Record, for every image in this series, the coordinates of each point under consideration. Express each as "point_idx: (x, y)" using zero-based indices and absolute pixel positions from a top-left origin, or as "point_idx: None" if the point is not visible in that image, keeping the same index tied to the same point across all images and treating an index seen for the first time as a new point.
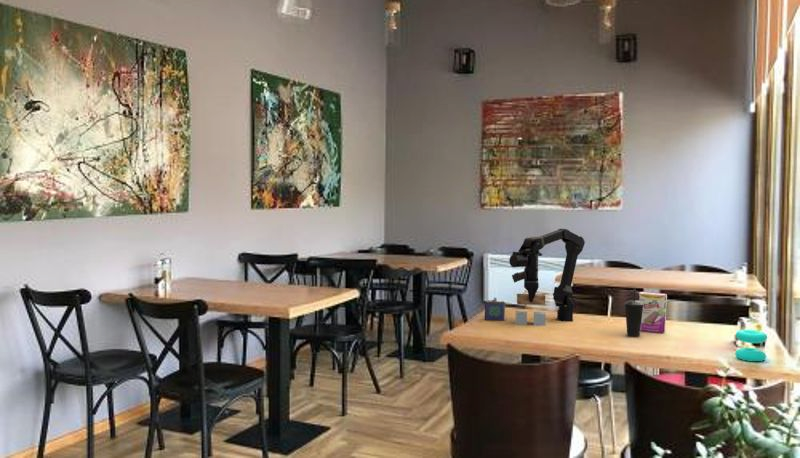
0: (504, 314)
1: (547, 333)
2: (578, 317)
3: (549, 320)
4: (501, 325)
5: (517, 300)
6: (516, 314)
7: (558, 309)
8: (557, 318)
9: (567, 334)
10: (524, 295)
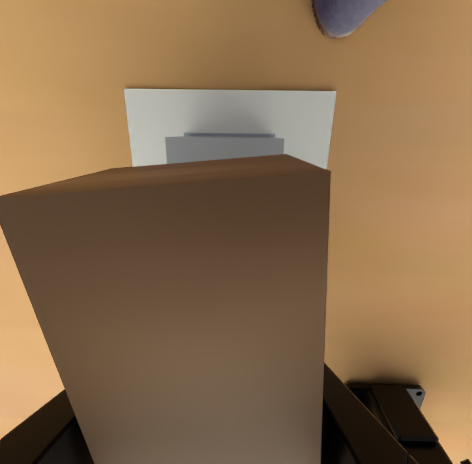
0: (349, 13)
1: (5, 317)
2: (461, 459)
3: (375, 343)
4: (132, 15)
5: (138, 171)
6: (170, 146)
7: (434, 444)
8: (374, 388)
9: (30, 394)
10: (58, 353)
